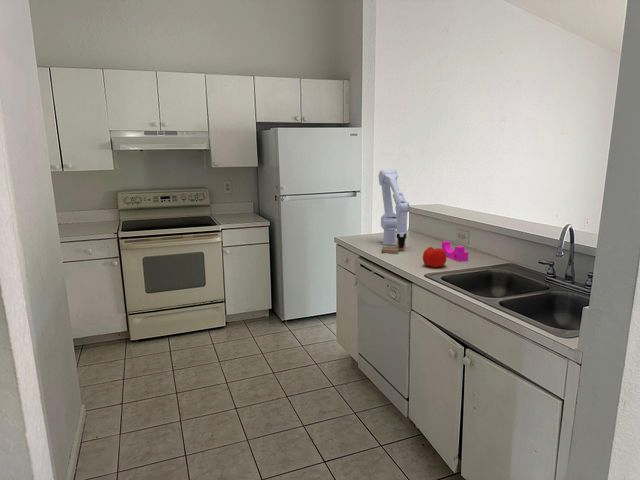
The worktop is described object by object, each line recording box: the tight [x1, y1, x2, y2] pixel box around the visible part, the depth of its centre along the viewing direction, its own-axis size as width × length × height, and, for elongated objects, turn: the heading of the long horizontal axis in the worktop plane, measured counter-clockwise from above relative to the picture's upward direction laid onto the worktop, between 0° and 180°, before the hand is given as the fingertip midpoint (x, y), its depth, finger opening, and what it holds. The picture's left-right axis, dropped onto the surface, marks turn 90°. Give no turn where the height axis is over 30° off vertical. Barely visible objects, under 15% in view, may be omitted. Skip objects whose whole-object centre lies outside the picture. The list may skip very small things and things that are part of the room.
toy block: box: [441, 240, 469, 262], centre depth 238 cm, size 15×6×8 cm, turn 17°
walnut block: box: [381, 245, 400, 255], centre depth 251 cm, size 9×9×3 cm
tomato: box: [422, 246, 448, 269], centre depth 221 cm, size 11×12×9 cm
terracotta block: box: [396, 239, 406, 251], centre depth 257 cm, size 4×4×5 cm
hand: (401, 247), depth 257 cm, fingers closed on terracotta block, 4 cm apart
